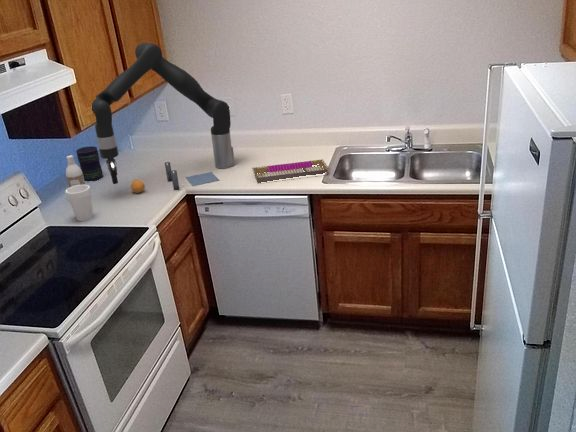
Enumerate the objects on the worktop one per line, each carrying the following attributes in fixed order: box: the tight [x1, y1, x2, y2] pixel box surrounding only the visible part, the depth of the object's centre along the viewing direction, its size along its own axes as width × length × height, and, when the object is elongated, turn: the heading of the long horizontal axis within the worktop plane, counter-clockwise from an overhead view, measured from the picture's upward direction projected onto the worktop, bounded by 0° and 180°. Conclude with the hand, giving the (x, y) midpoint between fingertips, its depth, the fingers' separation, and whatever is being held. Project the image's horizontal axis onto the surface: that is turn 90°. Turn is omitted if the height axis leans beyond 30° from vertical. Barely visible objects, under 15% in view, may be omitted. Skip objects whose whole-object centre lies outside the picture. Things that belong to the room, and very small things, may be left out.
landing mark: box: [185, 171, 220, 187], centre depth 250 cm, size 13×13×1 cm
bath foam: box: [65, 154, 86, 188], centre depth 234 cm, size 7×7×20 cm
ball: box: [130, 179, 145, 194], centre depth 239 cm, size 6×6×6 cm
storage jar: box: [75, 145, 104, 182], centre depth 257 cm, size 10×10×15 cm
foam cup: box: [64, 184, 94, 222], centre depth 215 cm, size 10×9×13 cm
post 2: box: [171, 169, 180, 191], centre depth 238 cm, size 3×3×9 cm
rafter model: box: [252, 158, 331, 184], centre depth 247 cm, size 35×14×6 cm, turn 100°
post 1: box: [164, 161, 172, 182], centre depth 249 cm, size 3×3×9 cm
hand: (115, 183), depth 234 cm, fingers closed
